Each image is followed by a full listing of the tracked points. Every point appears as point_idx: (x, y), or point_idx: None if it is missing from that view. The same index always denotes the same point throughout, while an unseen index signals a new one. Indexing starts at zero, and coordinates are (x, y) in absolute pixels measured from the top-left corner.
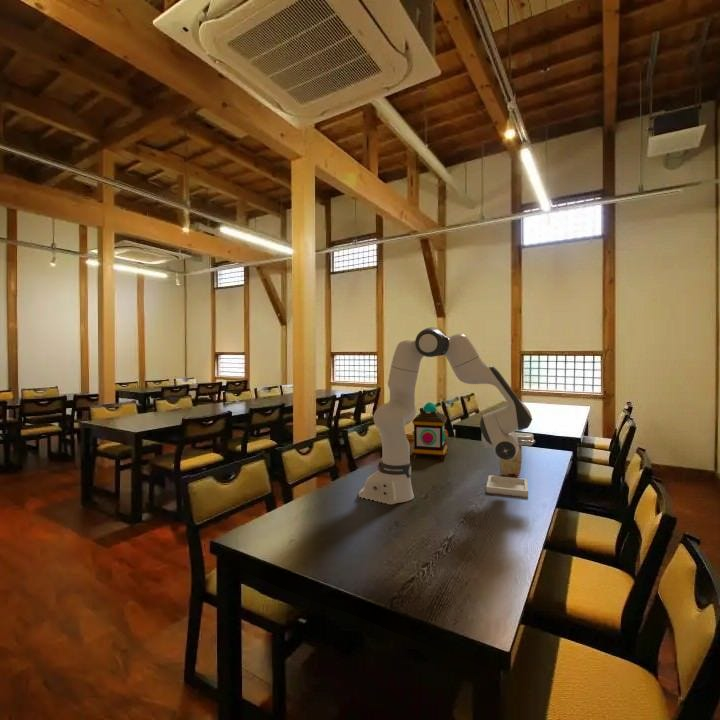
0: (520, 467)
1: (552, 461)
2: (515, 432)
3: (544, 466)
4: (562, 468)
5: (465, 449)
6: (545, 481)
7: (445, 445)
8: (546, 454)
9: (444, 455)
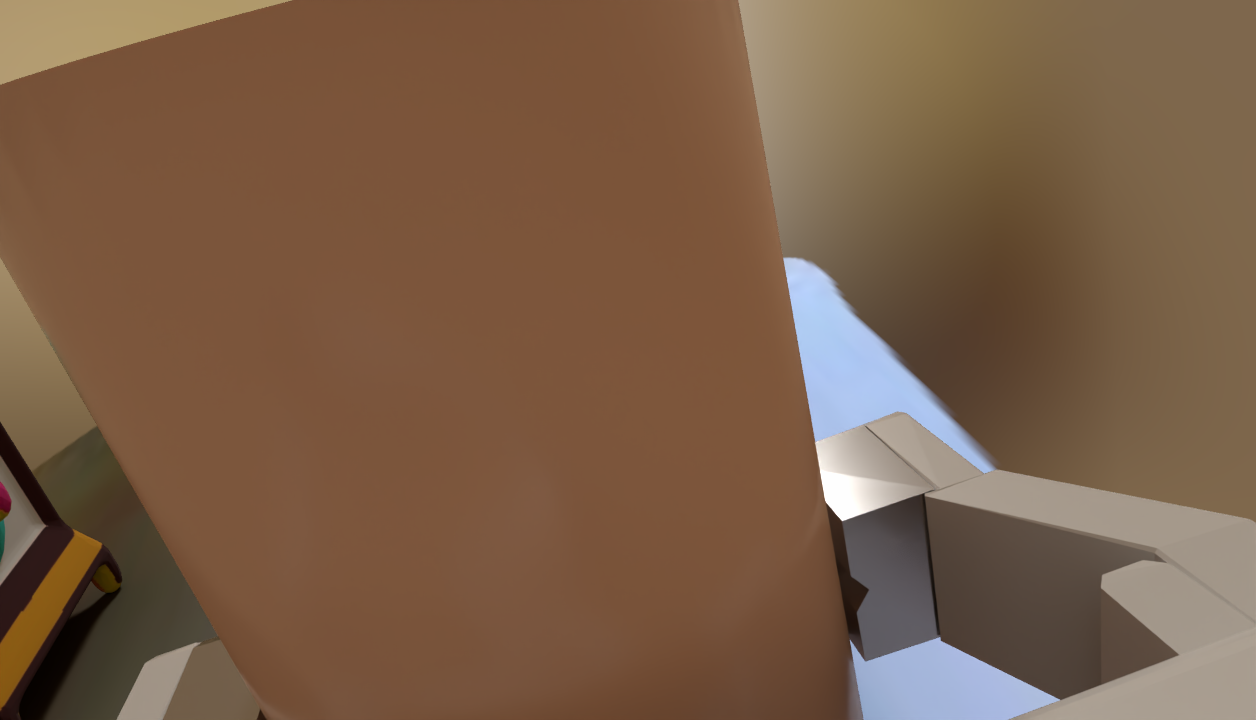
0: None
1: (813, 358)
2: (836, 450)
3: (817, 433)
4: (932, 402)
5: None
6: (1041, 697)
7: (57, 558)
8: None
9: (6, 717)
